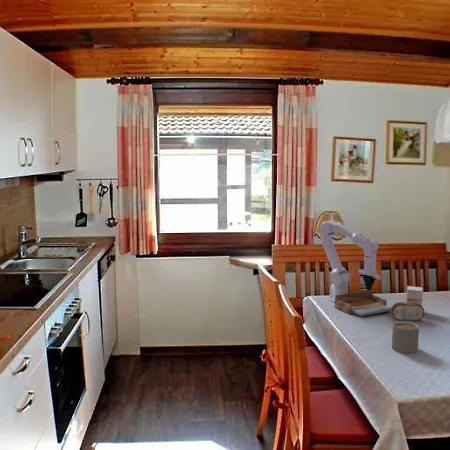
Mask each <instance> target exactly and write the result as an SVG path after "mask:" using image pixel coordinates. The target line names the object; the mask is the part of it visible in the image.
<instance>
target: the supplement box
mask: <svg viewBox="0 0 450 450" xmlns="http://www.w3.org/2000/svg"><path fill="white" fill-rule="evenodd" d="M406 287H407V288H406V302H405V303H418V304H420V305H421V306H422V307H423V295H424V294H423V292H424V291H423V290H424V288H423V287H420V286H411V285H407V286H406Z"/></svg>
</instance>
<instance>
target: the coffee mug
mask: <svg viewBox="0 0 450 450" xmlns="http://www.w3.org/2000/svg"><path fill="white" fill-rule="evenodd" d="M419 333H420V326H419V324H417V323H414V322H411V321H406V320H398V321H395V322H393V323H392V335H391V336H392V337H391V340H392V341H391V349H392V350H393V351H395V352H397V353H400V354H405V353H406V354H409V355H410V354H411V355H413V354H416V353H417V352H418V351H419V335H420V334H419ZM406 354H405V355H406Z"/></svg>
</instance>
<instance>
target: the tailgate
mask: <svg viewBox="0 0 450 450" xmlns="http://www.w3.org/2000/svg"><path fill="white" fill-rule="evenodd" d="M391 309H392V306H388V305H386V306H385V305H382V306H376V307H370V308H364V309H358V310H353V313H355V315H358V316H360V317H361V316H368V315H376V314H381V313H385V312H391Z"/></svg>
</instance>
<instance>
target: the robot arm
mask: <svg viewBox="0 0 450 450" xmlns="http://www.w3.org/2000/svg"><path fill="white" fill-rule="evenodd" d="M318 229H319V232H320V241H321V244H322V247H323V249H324V251H325V254H326V258H327V260H328V262H329V265H330V267H331V273H330V276H331V282H332V284H331V285H330V288H329V298H328V301H331V302H334V303H335V295H338V294H344V293H349V292H348V290H349V283H350V281H351V275H350V273H349V272H348V270H347V269H346V267H344V266H342V263H341V260H340V257H339V255H338V252H337V250H336V247H335V245H334V242H333V240H332V239H333V237H334V235H335V234H336V233H340V234H341V235H343V236H346V237H347V238H349V239H351V242H352V243H353V244H355V245H357V246H358V247H359V248H361V249H362V251H363V253H364V258H363V261H364V262H363V269H358V274H359V275H363V276H362V279H363V282H364V285H365V290H368V291H369V290H373V289H372V288H373V286H374V283H375V282H376V280H381V279H382V276H381V275H380V274H378V273H377V271H376V268H377V267H376V266H377V251H378V249H379V243H378V242H377V240H375V239H371V238H369V237H367V236H365V235H363V233H362V232H356V233H355V232H353V231H352V230H351V229H350V228H348V227H346V226H345V225H343V224H342V222H339V221H338V220H335V219H332V220H328V221H323V222H322V223H321V224H320V225H319V228H318Z"/></svg>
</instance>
